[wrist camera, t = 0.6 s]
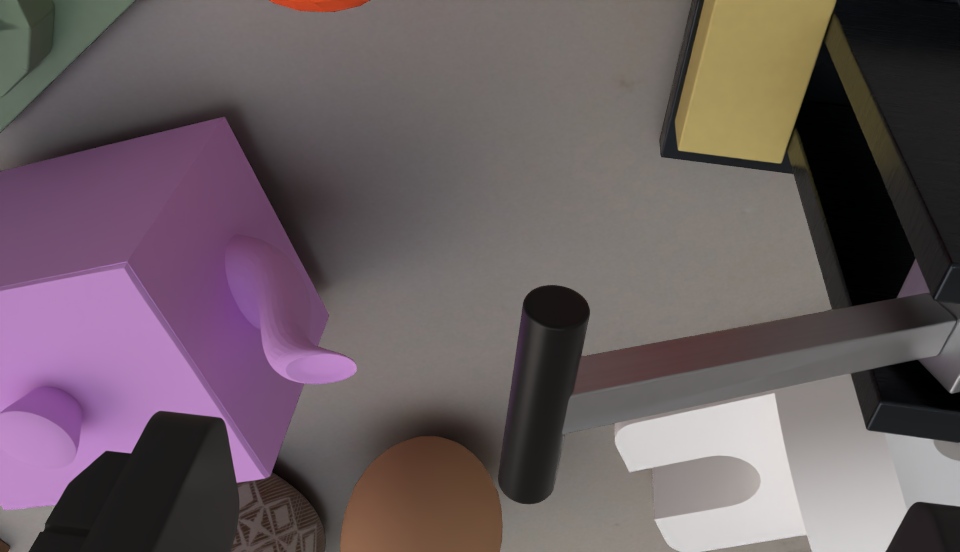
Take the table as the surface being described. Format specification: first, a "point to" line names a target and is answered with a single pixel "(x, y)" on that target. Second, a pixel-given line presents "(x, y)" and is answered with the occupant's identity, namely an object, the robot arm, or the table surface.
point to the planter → (276, 519)
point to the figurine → (3, 547)
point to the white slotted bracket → (785, 470)
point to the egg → (423, 502)
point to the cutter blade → (697, 368)
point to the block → (45, 44)
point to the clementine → (320, 4)
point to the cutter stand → (876, 178)
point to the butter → (749, 76)
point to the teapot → (147, 307)
